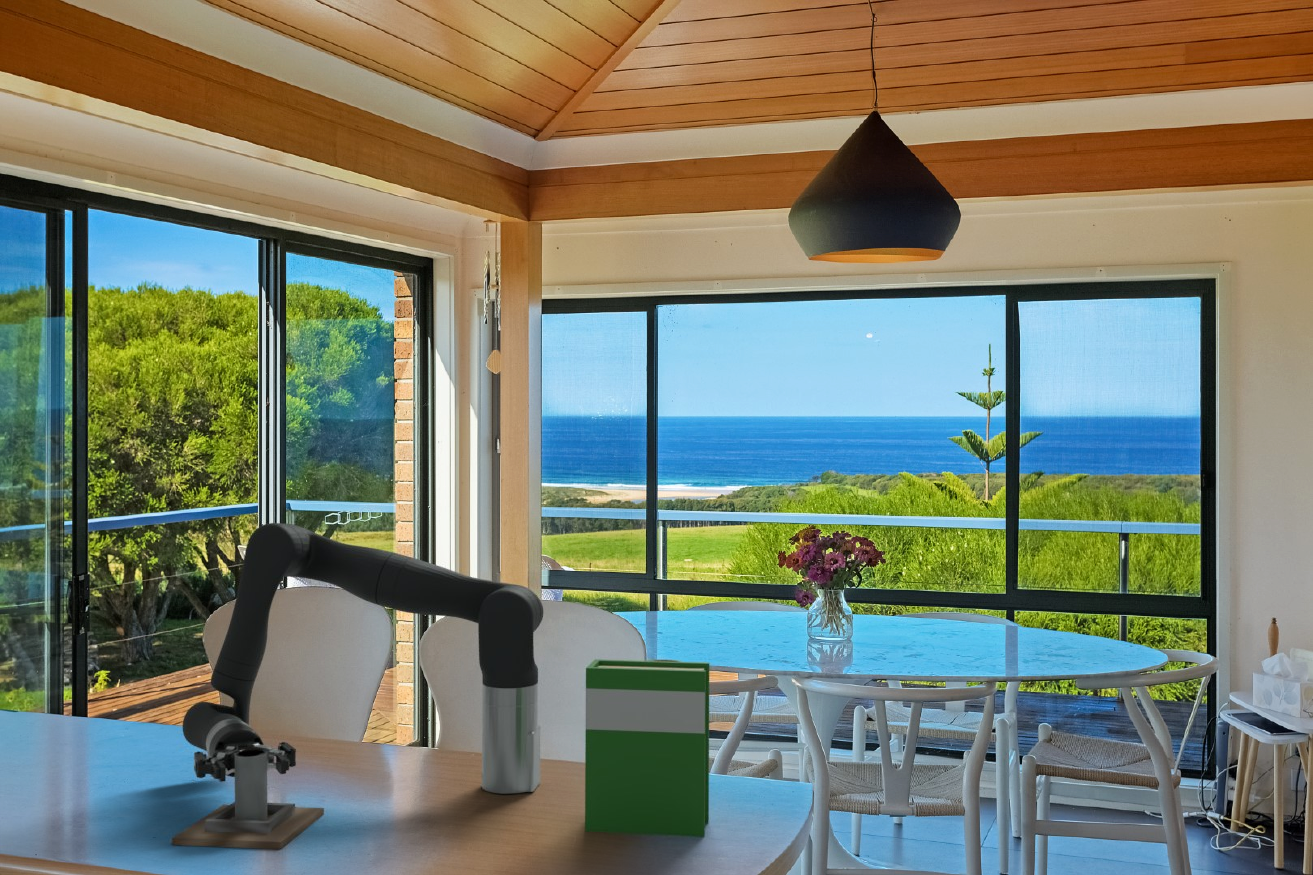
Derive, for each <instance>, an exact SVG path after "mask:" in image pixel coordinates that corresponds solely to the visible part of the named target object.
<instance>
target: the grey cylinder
mask: <svg viewBox="0 0 1313 875" xmlns="http://www.w3.org/2000/svg"><path fill="white" fill-rule="evenodd" d="M234 802H235V820H256V821H265V820H267V803H268V770H267V750H265V749H262V748H248V749H243V750H239V751H237V752H236V753H235V777H234Z"/></svg>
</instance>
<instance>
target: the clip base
mask: <svg viewBox="0 0 1313 875" xmlns="http://www.w3.org/2000/svg"><path fill="white" fill-rule="evenodd" d="M324 814H325V808H324V807H306V806H303V807H302V806H296V803H289V802H288V803H284V802H283V803H282V802H281V803H280V802H267V820H265V821H256V820H235V801H233V802H232V803H229V804H222V805H221V806H220V807H218V808H216V809H215V810H213V811H211V812H210V813H208V814H206V815H205V816H203V817H202V818H201V819H199V820H197V821H196V822H194V823H193V824H191V825H189V826H188V827H187V828H185V829H183V830H182V831H180V832H178V833H177V834H176V835H174V836H173V837H171V846H186V847H187V846H191V847H216V848H241V849H242V848H245V849H269V850H270V849H271V850H283V848H284V847H286V846H287V845H288V844H289V843H291V842H292V841H293V840H294V839H296V838H297V837H298V836H299V835H301V833H303V832H304V831H306V830H307V829H308V828H309V827H310V826H311V825H313V824H314V823H315V822H316V821H318V820H319V819H320V818H321V817H323V816H324Z"/></svg>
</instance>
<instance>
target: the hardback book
mask: <svg viewBox="0 0 1313 875" xmlns="http://www.w3.org/2000/svg"><path fill="white" fill-rule="evenodd" d="M584 742H585V744H584V746H585V748H584V749H585V750H584V752H585V760H584V762H585V764H584V765H585V768H584V775H585V776H584V778H585V779H584V781H585V782H584V783H585V784H584V795H585V796H584V832H591V833H593V832H594V833H612V834H631V835H632V834H633V835H634V834H635V835H636V834H637V835H651V836H652V835H653V836H654V835H656V836H674V837H675V836H676V837H677V836H678V837H696V838H697V837H698V838H699V837H700V838H705V835H706V824H709V821H710V820H709V819H710V818H709V816H710V814H709V810H710V808H709V807H710V800H709V799H710V662H699V661H697V662H696V661H681V662H668V661H647V660H631V659H630V660H629V659H628V660H624V659H623V660H622V659H594V660H592V662H590V664H588V665H587V666H586V667H585V740H584Z"/></svg>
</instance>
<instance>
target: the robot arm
mask: <svg viewBox="0 0 1313 875" xmlns="http://www.w3.org/2000/svg"><path fill="white" fill-rule="evenodd" d="M284 577H285V578H286V577H288V578H289V577H291V578H300V579H307V580H314V581H318V582H323V583H327V584H331V585H333V586H336V587H339V588H341V589H343V590H345V592H348V593H350V594H352V595H353V596H355V597H357V598H359V599H361V600H364V601H367V602H369V603H371V604H374V605H377V606H381V607H384V608H388V609H392V610H395V611H397V612H403V613H409V614H414V615H415V614H416V615H425V616H426V615H427V616H437V617H438V616H440V617H441V616H442V617H450V618H451V617H452V618H458V619H462V620H467V621H469V622H473V623H475V624H478V625H477V626H478V628H477V629H478V662H479V663H478V664H479V668H480V670H481V674H482V675H481V676H482V680H481V681H482V686H481V687H482V691H481V692H482V699H481V700H482V702H481V704H482V706H481V711H482V713H481V718H482V719H481V720H482V721H481V788H482V790H484V791H486V792H488V793H494V794H504V795H505V794H507V795H508V794H521V793H526V792H527V793H533V792H534V791H535V790H536V789H537V787H538V786H539V785H540V783H541V726H540V725H539V722H538V721H539V719H538V718H539V716H538V715H539V711H538V710H539V709H538V708H539V706H538V705H539V694H538V693H539V669H538V665H537V663H536V662H535V654H534V633H535V631H536V630H537V629H538V628H539V626H540V625H541V623H542V621H543V618H544V606H543V604H542V601H541V599H540V598H539V596H538V595H537V594H536V593H535V592H534V591H532V589H530V588H529V587H526V586H524V585H521V584H513V583H506V582H500V581H493V580H489V579H482V578H477V577H472V576H470V575H469V576H468V575H466V574H463V573H460V572H457V571H455V570H452V569H449V568H446V567H443V566H440V565H437V564H434V563H430V562H428V561H424V560H421V559H418V558H415V557H411V556H408V555H405V554H400V553H397V552H393V551H388V550H382V549H380V548H373V547H369V546H361V545H352V544H348V543H344V542H340V541H338V540H337V541H336V540H334V539H331V538H330V537H329V538H328V537H325V536H324V535H321V534H318V533H317V532H314V531H311V530H308V529H307V528H303V527H302V526H300V525H296V524H293V523H283V522H282V523H280V522H270V523H265V524H263V525H260V526H259V527H258V528H256V529H255V530H254V531H253V532H252V533H251V535H250V536H249V539H248V541H247V544H246V547H245V552H244V557H243V562H242V569H241V573H240V580H239V584H238V588H237V592H236V598H235V603H234V607H233V610H232V611H233V612H232V614H231V618H230V622H229V625H228V629H227V632H226V634H225V638H224V640H223V643H222V645H221V648H220V651H219V654H218V658H217V661H216V663H215V666H214V668H213V671H212V673H211V676H210V685H211V687H212V688H213V689H214V690H216V691H218V692H219V693H222V694H224V695H226V696H228V697H230V698H231V699H233V705H232V706H230V705H229V706H228V705H226V704H225V705H224V704H220V703H214V702H210V701H199V702H197V703H194V704H193V705H192V706H190V707H189V708H188V710H187V711H186V713H185V715H184V716H183V720H182V734H183V736H184V738H185V740H186V741H187V742H188V744H190V745H191V746H193V747H196V748H198V749H201V750H203V751H206V752H207V753H203V751H199V750H198V751H196V752H193V770H194V773H195V775H196V778H198V779H203V778H205V777H207V776H206V775H210V778H213V779H214V780H218V781H219V782H220V783H222V782H226V777H231V778H235V753H236V752H237V751H239V750H243V749H248V748H262V749H265V750H267V771H270V770H272V769H275V770H276V771H277V772H278V773H279V774H280V775H285V774H286V773H287V771H290V768H294V767H296V765H297V763H296V762H297V761H296V756H297V755H296V754H297V749H296V748H295V747H293V746H292V745H291V744H289V743H288V742H285V741H282V742H279V744H278V746H277V748H275V747H274V746H272V745H265V744H264V742H263V740H262V738H261V737H260V735H259V734H258V733H257V732H256V731H255V730H254V729H253V728H252V727H251V725H250V709H251V708H250V707H251V699H252V693H253V690H254V689H253V688H254V685H255V682H256V679H257V676H258V673H259V670H260V668H261V665H262V662H263V660H264V656H265V652H266V648H267V642H268V629H269V617H270V612H271V609H272V608H271V607H272V604H273V600H274V597H275V595H276V592H277V590H278V588H279V586H280V584H281V583H282V581H283V579H284Z"/></svg>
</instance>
